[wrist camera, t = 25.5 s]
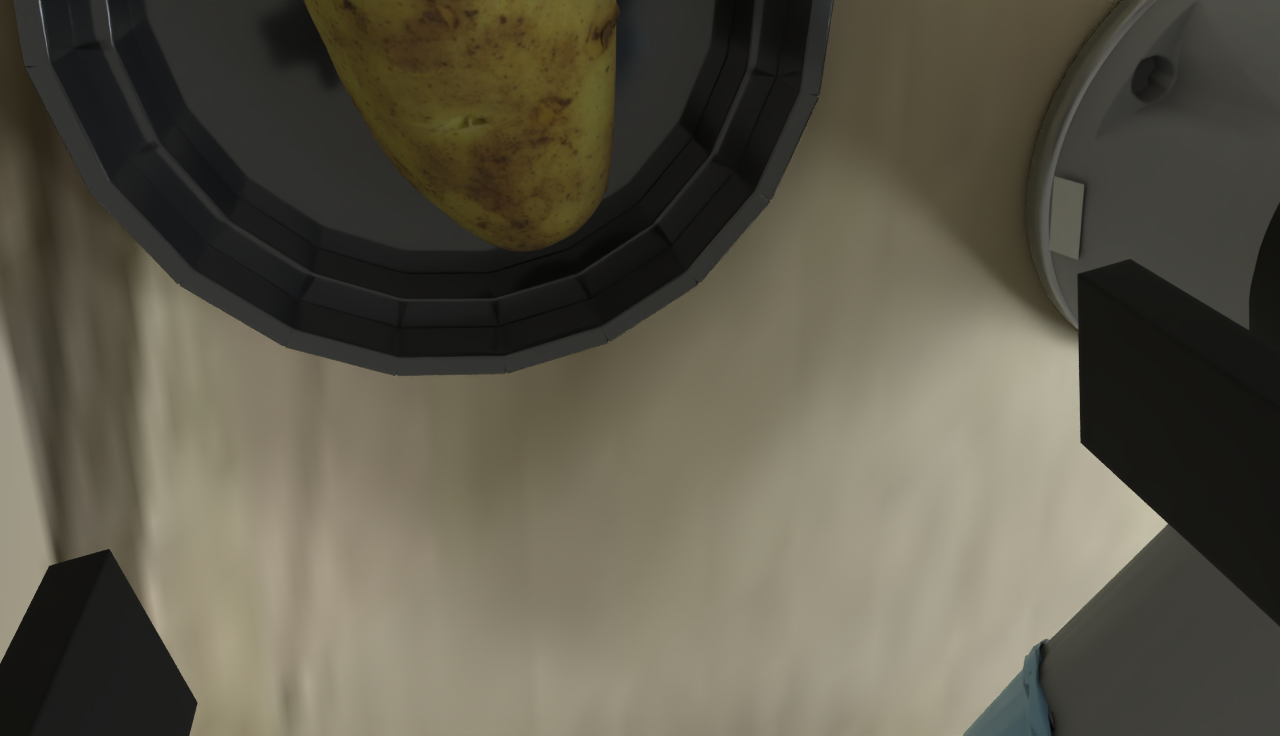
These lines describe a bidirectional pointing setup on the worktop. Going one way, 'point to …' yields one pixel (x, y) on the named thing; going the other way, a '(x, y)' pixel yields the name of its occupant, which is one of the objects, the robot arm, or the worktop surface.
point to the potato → (486, 104)
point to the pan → (387, 202)
